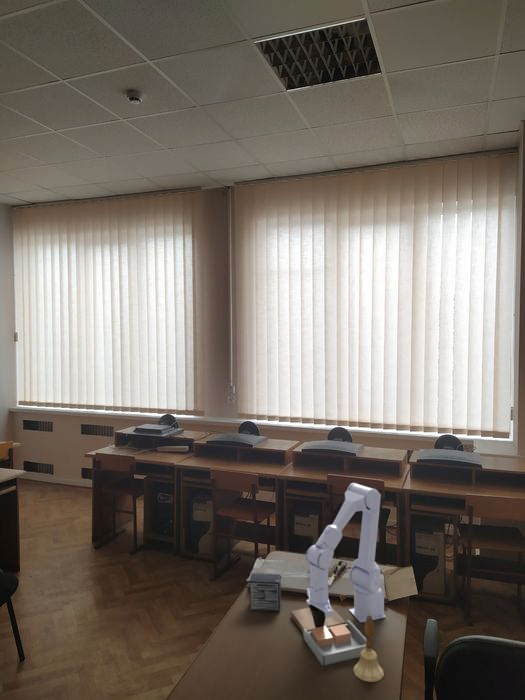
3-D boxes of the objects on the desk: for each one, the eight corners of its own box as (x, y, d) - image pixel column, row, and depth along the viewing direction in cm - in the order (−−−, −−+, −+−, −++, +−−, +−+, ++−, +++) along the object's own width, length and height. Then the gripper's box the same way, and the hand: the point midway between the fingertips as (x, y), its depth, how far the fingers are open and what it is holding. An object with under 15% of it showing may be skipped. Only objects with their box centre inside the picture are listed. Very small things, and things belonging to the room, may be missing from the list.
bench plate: (329, 609, 175) (329, 603, 175) (345, 628, 163) (345, 622, 163) (291, 616, 170) (291, 611, 170) (305, 637, 159) (305, 630, 159)
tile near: (343, 631, 161) (343, 624, 161) (350, 640, 156) (350, 632, 156) (329, 635, 159) (329, 627, 159) (336, 644, 154) (336, 636, 154)
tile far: (325, 632, 159) (325, 625, 158) (332, 644, 154) (332, 637, 154) (310, 635, 157) (311, 628, 157) (317, 647, 153) (317, 640, 152)
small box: (281, 602, 180) (281, 573, 179) (280, 612, 173) (280, 582, 173) (251, 601, 181) (251, 572, 180) (249, 611, 174) (249, 581, 174)
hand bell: (383, 664, 145) (383, 609, 145) (384, 684, 137) (384, 626, 137) (353, 661, 147) (353, 606, 147) (353, 680, 139) (353, 622, 138)
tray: (349, 628, 163) (349, 619, 163) (372, 654, 150) (371, 644, 150) (303, 638, 158) (303, 629, 158) (322, 666, 145) (322, 655, 145)
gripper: (298, 576, 164) (298, 618, 164) (317, 598, 150) (317, 644, 151) (318, 573, 166) (318, 614, 167) (338, 594, 152) (338, 639, 153)
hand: (319, 628), depth 159 cm, fingers closed
